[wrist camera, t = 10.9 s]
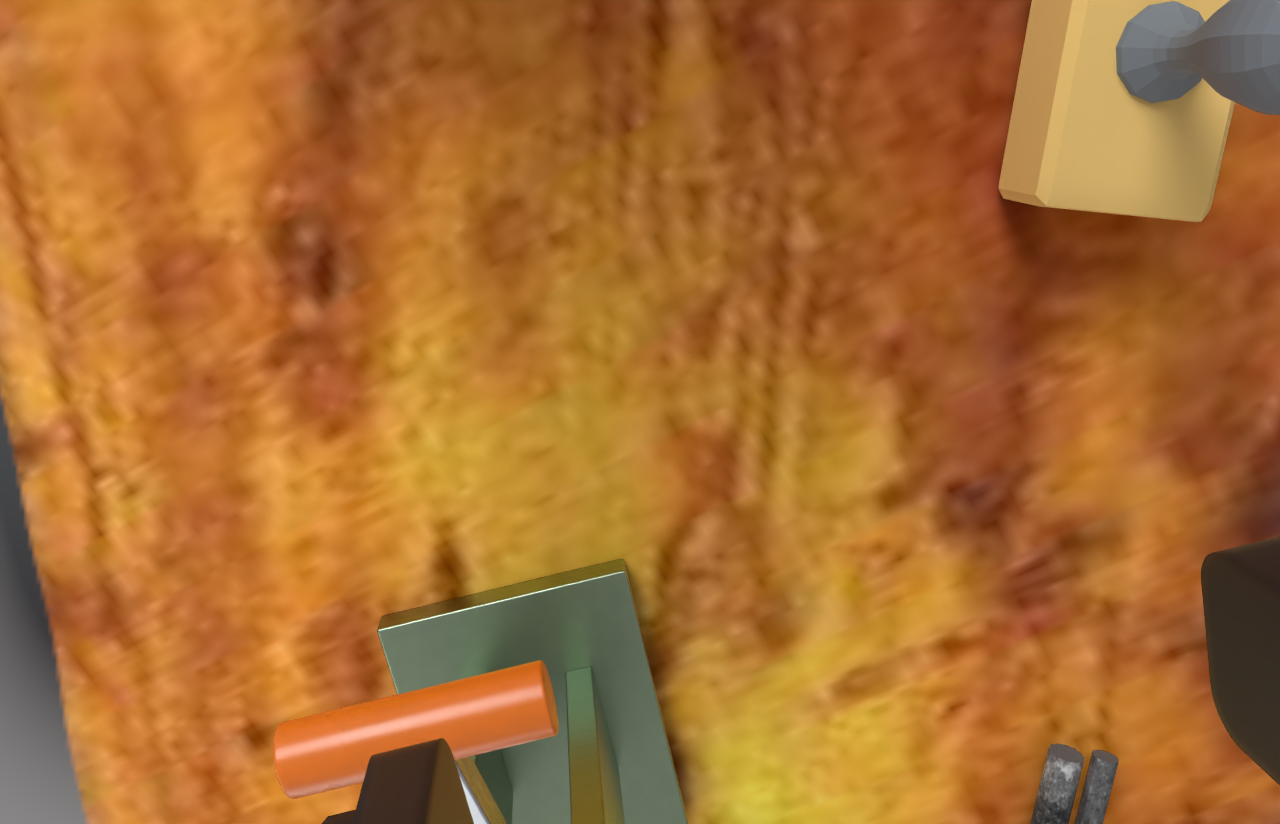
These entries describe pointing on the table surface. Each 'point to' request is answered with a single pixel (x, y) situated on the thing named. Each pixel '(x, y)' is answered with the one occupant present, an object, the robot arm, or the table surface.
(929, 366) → the table surface
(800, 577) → the table surface
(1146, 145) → the rubber stamp
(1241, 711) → the robot arm
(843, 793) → the table surface
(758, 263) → the table surface
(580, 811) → the bracket
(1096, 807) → the valve
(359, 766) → the lever
